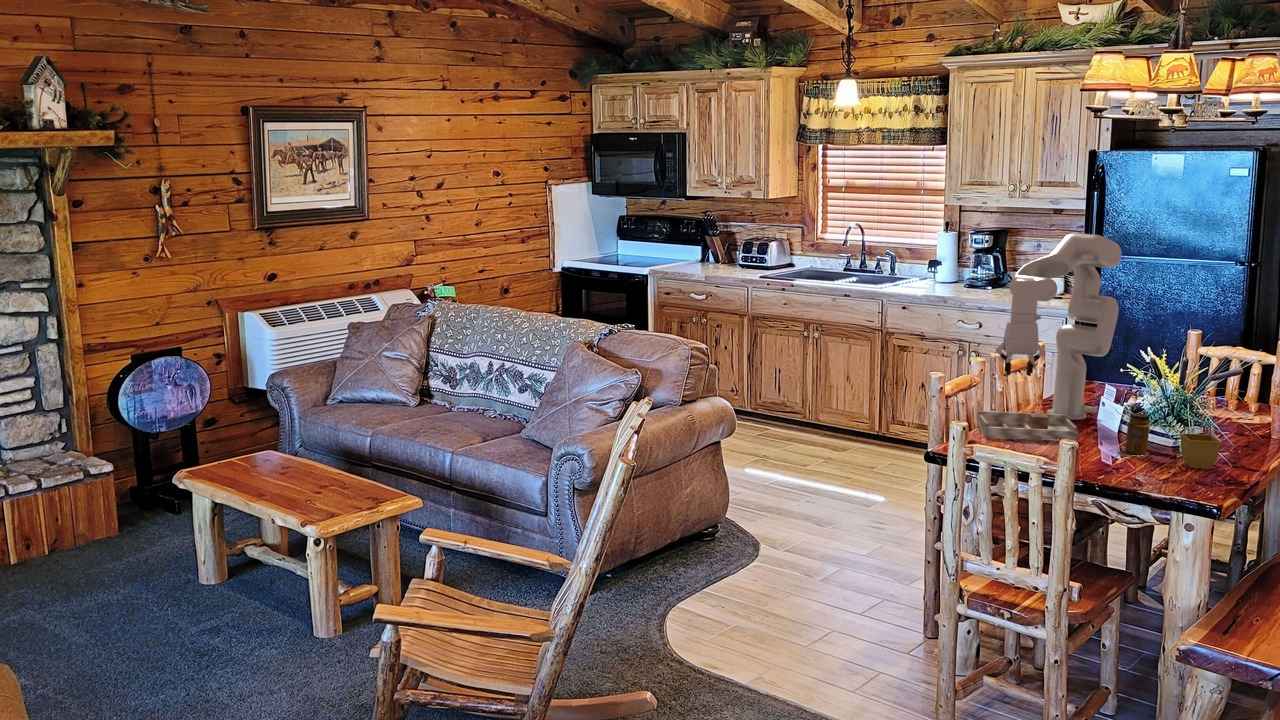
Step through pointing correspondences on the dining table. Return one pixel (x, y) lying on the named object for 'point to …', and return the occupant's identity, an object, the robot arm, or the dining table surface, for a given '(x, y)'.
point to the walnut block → (1038, 421)
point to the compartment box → (1024, 426)
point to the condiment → (1137, 435)
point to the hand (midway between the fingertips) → (1018, 374)
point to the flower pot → (1199, 450)
